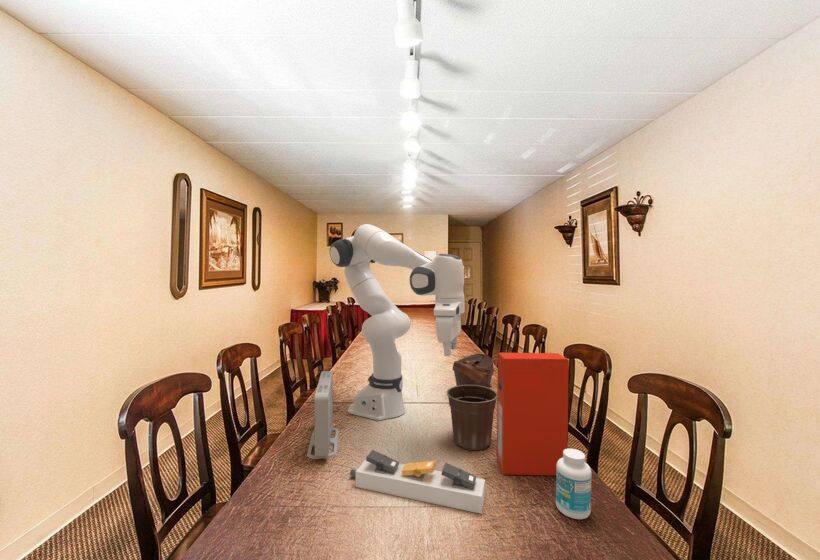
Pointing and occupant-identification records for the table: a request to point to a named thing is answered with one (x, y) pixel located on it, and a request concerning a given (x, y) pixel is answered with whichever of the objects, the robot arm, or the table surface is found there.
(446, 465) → the rocker right black
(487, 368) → the case
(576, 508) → the pill bottle
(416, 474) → the rocker middle orange
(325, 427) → the network device
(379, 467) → the rocker left black
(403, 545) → the table surface
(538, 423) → the file binder
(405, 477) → the power strip
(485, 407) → the plant pot
